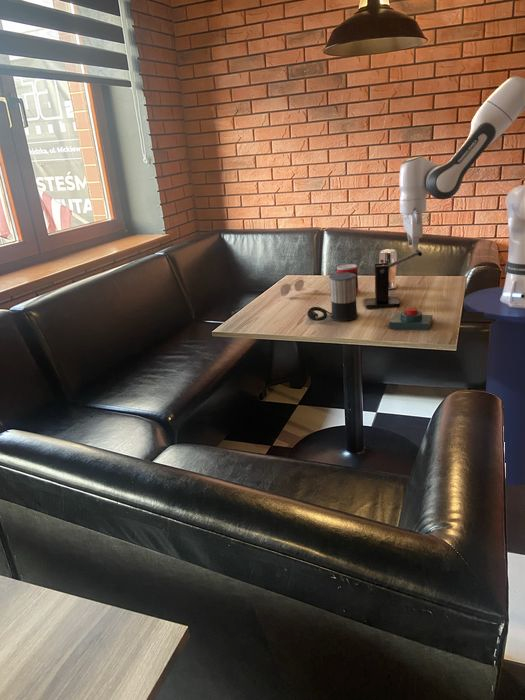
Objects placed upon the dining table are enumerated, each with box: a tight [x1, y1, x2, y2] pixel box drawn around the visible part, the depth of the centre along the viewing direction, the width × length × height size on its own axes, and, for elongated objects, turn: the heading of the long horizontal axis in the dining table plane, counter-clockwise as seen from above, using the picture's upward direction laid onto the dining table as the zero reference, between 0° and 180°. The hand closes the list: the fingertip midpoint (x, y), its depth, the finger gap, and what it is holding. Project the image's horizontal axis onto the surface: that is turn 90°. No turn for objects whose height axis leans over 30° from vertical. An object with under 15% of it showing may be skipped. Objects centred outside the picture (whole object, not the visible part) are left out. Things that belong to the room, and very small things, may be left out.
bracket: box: [364, 262, 401, 309], centre depth 195 cm, size 12×9×15 cm
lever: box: [383, 249, 423, 268], centre depth 191 cm, size 16×5×2 cm, turn 84°
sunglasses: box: [279, 279, 318, 300], centre depth 219 cm, size 14×8×5 cm, turn 127°
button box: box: [389, 310, 434, 331], centre depth 172 cm, size 12×9×4 cm
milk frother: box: [306, 273, 359, 322], centre depth 185 cm, size 14×16×15 cm
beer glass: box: [378, 248, 398, 290], centre depth 215 cm, size 7×7×15 cm
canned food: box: [336, 263, 359, 295], centre depth 214 cm, size 8×8×11 cm
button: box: [405, 307, 418, 315], centre depth 171 cm, size 4×4×2 cm
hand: (413, 247), depth 189 cm, fingers open, 8 cm apart
